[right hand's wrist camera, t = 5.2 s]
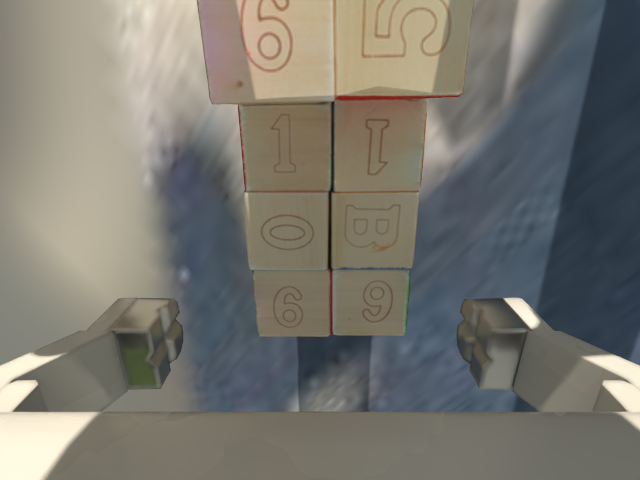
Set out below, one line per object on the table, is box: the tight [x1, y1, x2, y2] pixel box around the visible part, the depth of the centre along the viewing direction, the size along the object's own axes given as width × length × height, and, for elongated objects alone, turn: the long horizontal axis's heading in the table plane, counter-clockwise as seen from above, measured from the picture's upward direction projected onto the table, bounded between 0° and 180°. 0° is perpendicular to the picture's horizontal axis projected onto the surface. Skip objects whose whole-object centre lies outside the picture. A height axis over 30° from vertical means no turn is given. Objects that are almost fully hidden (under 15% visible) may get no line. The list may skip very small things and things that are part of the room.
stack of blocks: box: [197, 0, 474, 337], centre depth 13 cm, size 21×6×12 cm, turn 0°
